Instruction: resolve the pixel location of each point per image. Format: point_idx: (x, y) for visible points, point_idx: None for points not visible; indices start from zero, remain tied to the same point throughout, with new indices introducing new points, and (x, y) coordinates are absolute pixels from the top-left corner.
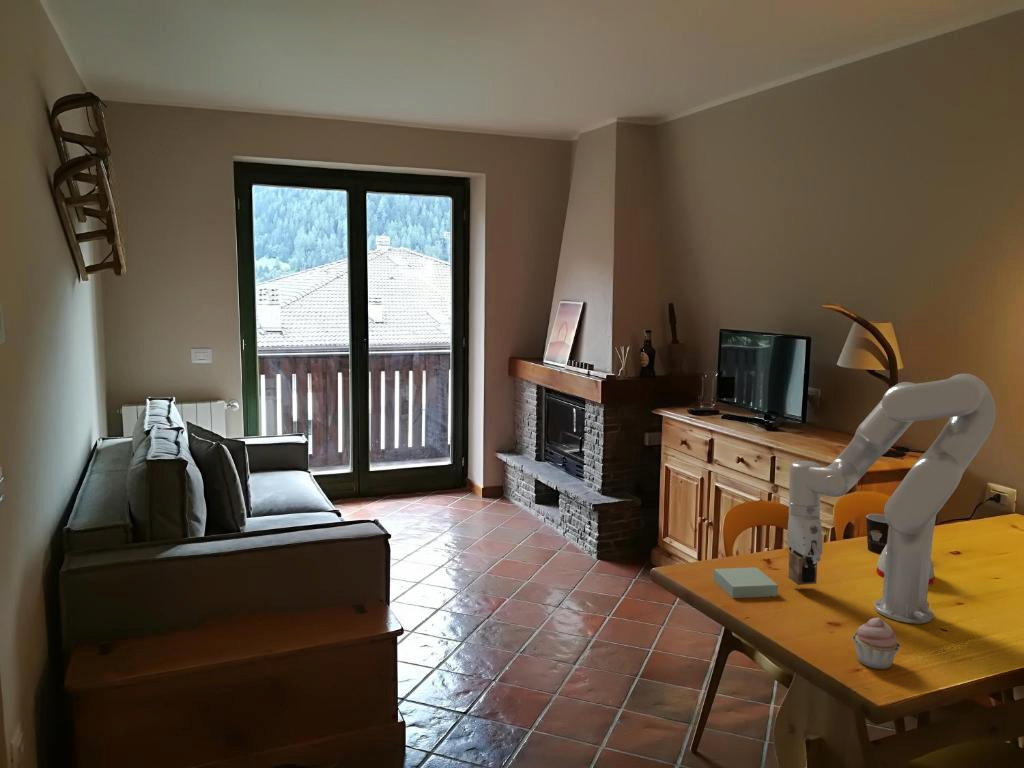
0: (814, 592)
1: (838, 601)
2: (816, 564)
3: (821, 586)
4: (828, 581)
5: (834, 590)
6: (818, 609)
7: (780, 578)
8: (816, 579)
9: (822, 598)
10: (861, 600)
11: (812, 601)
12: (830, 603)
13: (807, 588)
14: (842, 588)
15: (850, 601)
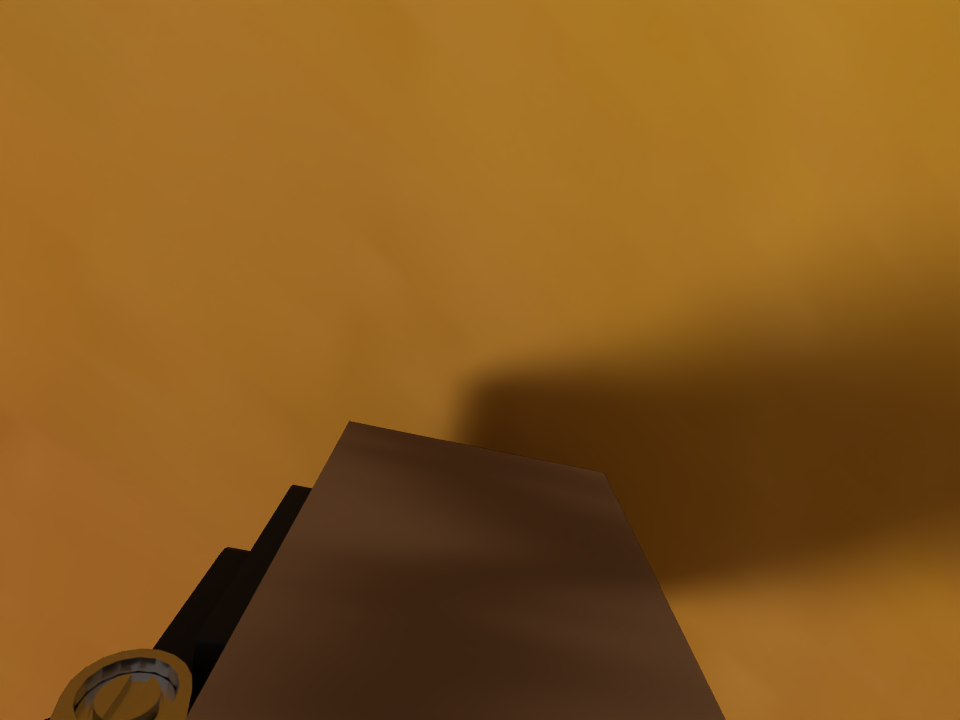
0: (571, 440)
1: (848, 367)
2: (704, 691)
3: (461, 239)
4: (350, 13)
5: (611, 175)
6: (879, 665)
7: (126, 527)
8: (617, 501)
9: (721, 469)
10: (955, 86)
11: (732, 604)
12: (842, 479)
13: (457, 437)
14: (601, 16)
15: (910, 239)
